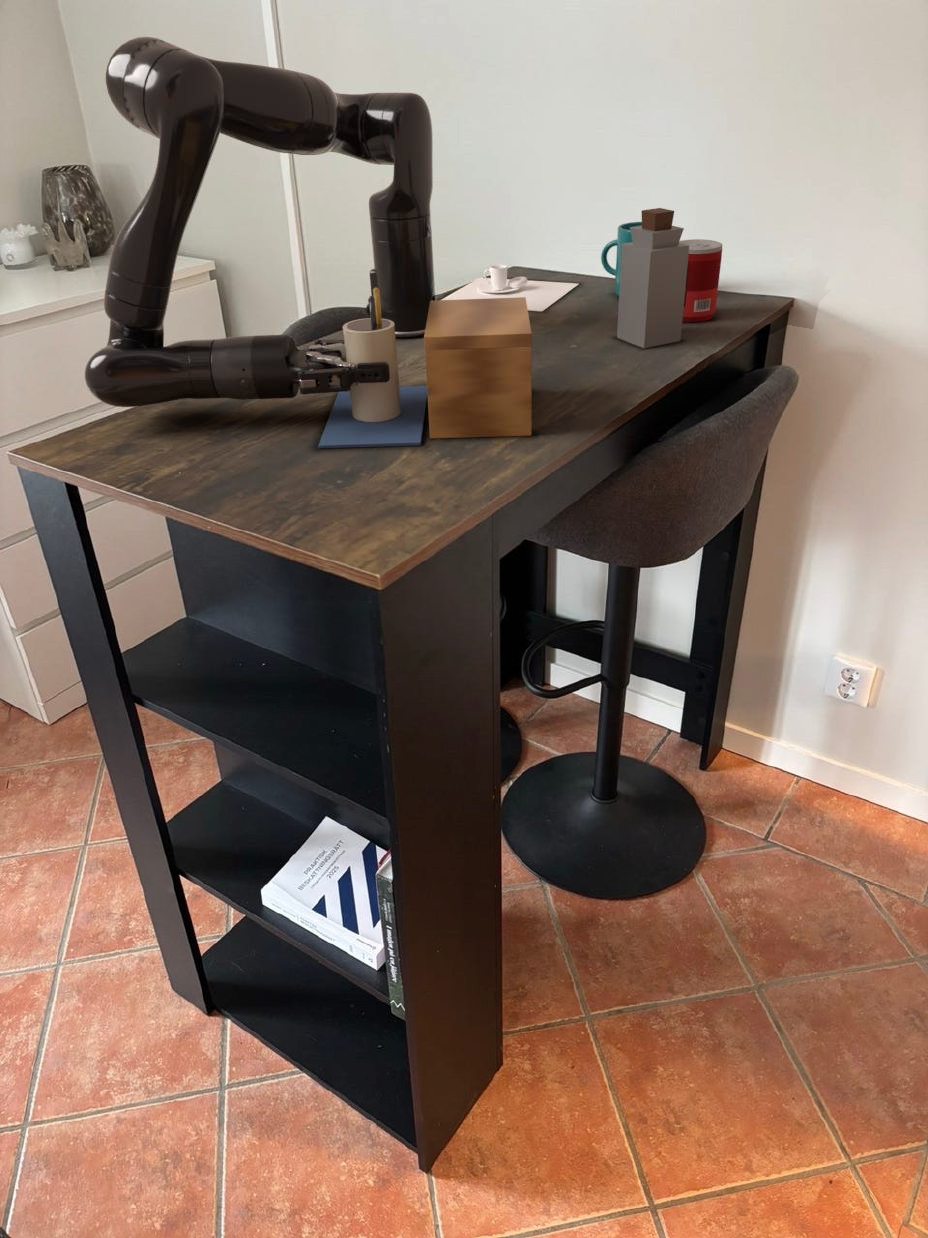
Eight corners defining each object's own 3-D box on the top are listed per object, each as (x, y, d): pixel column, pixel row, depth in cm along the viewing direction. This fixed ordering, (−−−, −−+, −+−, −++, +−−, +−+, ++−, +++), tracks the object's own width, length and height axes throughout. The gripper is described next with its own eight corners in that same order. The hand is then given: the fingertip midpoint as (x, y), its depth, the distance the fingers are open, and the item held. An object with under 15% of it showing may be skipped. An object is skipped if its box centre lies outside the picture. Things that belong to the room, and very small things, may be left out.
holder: (343, 419, 114) (329, 293, 105) (365, 402, 118) (353, 281, 110) (388, 424, 112) (377, 296, 103) (409, 407, 116) (400, 283, 108)
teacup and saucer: (531, 286, 168) (531, 262, 166) (515, 296, 162) (515, 272, 160) (487, 283, 171) (487, 260, 169) (470, 293, 165) (469, 270, 163)
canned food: (721, 312, 149) (729, 240, 143) (704, 325, 143) (712, 250, 137) (676, 307, 152) (683, 237, 146) (658, 319, 147) (664, 247, 141)
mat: (318, 448, 107) (318, 445, 107) (340, 390, 124) (340, 388, 124) (420, 445, 107) (420, 442, 106) (428, 388, 123) (428, 385, 123)
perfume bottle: (643, 348, 134) (653, 216, 125) (616, 337, 140) (623, 210, 130) (680, 340, 137) (692, 210, 127) (652, 330, 142) (662, 204, 132)
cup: (608, 285, 167) (611, 219, 161) (673, 290, 162) (678, 222, 156) (591, 297, 160) (593, 228, 154) (657, 303, 155) (663, 232, 149)
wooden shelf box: (430, 438, 108) (423, 336, 102) (435, 392, 122) (430, 300, 115) (531, 435, 108) (531, 333, 101) (525, 389, 121) (525, 296, 115)
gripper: (237, 354, 104) (384, 349, 103) (262, 320, 116) (394, 315, 115) (248, 418, 108) (389, 413, 107) (271, 378, 120) (398, 374, 119)
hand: (391, 363), depth 111 cm, fingers closed on holder, 6 cm apart
